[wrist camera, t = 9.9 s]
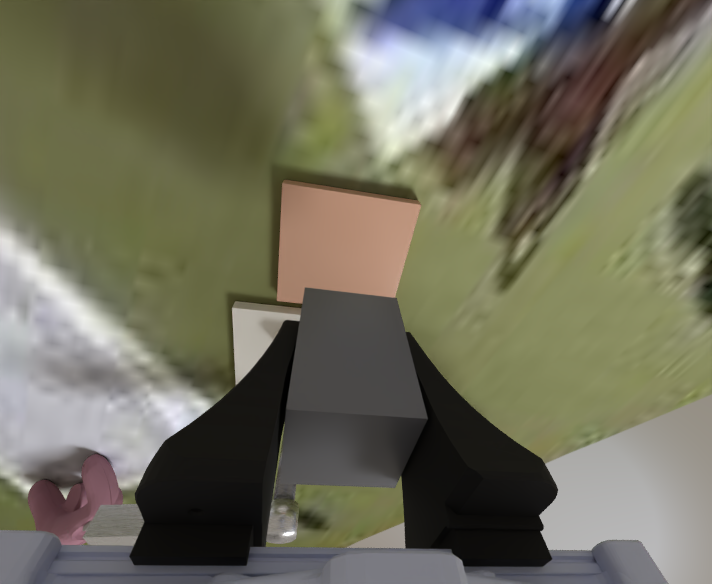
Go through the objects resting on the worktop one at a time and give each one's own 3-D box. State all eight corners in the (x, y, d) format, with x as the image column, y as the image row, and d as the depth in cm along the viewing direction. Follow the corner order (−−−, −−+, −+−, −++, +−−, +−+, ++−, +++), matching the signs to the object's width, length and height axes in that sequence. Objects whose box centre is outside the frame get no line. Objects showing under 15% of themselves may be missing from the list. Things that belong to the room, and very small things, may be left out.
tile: (418, 200, 20) (421, 204, 19) (388, 306, 24) (390, 313, 23) (284, 179, 19) (282, 183, 18) (278, 294, 23) (276, 300, 22)
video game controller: (77, 478, 38) (65, 552, 34) (27, 482, 34) (8, 566, 30) (136, 450, 35) (130, 527, 31) (90, 451, 31) (77, 539, 28)
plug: (396, 298, 14) (427, 418, 9) (377, 362, 16) (395, 487, 11) (304, 287, 14) (285, 409, 9) (297, 354, 16) (279, 483, 11)
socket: (372, 315, 24) (384, 394, 18) (344, 429, 32) (346, 511, 26) (235, 301, 23) (199, 380, 17) (240, 423, 31) (216, 507, 25)
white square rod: (98, 502, 23) (80, 535, 22) (298, 498, 24) (295, 528, 23) (110, 517, 25) (93, 549, 23) (299, 512, 26) (296, 543, 24)
